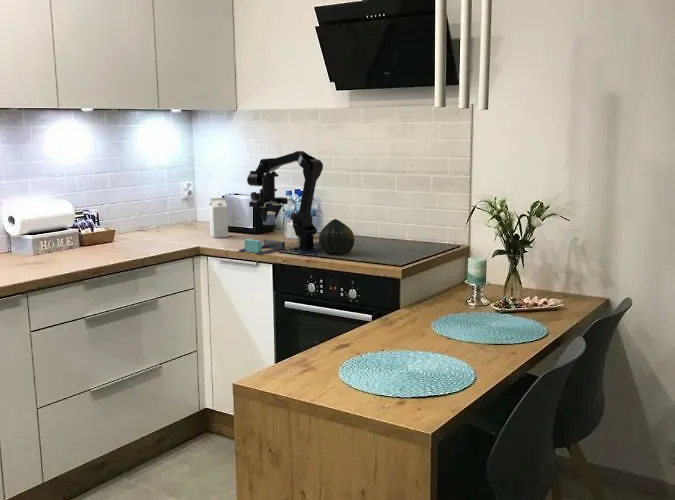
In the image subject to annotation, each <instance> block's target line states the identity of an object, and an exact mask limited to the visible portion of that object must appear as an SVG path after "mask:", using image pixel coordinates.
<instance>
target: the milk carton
mask: <svg viewBox="0 0 675 500" xmlns="http://www.w3.org/2000/svg"><path fill="white" fill-rule="evenodd" d="M209 201H210V202H209V205H208V214H209V215H208V216H209V236H210V237H212V238H214V239H217V238H218V239H219V238H228V237H229V228H228V227H229V225H228V222H229V221H228V219H229V218H228V205H227V202H226V198H225V197H214V198H212V197H211V198H210V200H209Z"/></svg>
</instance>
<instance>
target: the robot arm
mask: <svg viewBox="0 0 675 500" xmlns="http://www.w3.org/2000/svg"><path fill="white" fill-rule="evenodd" d="M295 162H297V164H298V165H299V167H300V168H302V174H303V177H304V184H303V188H302V194H301V199H300V206H299V209H298V212H296V213H297V214H294V215H293V221H292V223H293V228H294V230H295V233H296V236H299V239H298V247H296V249H297V250H301V251H310V250H317V247H315V246H314V245H315V244H314V235H317V232H318V229H317V227H315V225H314V223H313V217H312V212H311V211H312V206H313V200H314V195H315V191H316V185H317V184H316V183H317V181H318V179H319V178H320V176H321V175H322V172H323V169H324V164H323V162H322V161H321V160H320V159H317V158H315V157H314V156H312V155H310V154H308V153H307V152H306V151H303V150H296V151H294V152H291V153H288V154H285V155H280V156H277V157H271V158H261V159H260V160H259V164H258V166H257V168H256V169H255V170H249V174H248V175H247V178H246V182H247V184H248V186H251V187H253V186H254V187H261V188H260V190H259V192H257V191H253V192H251V193H250V199H251V200H250V201H249V205H248V206H249V207H250V208H255V209H257V211H258V212H259V213H260V216H261V219H262V223H263V222H266V216H267V212H268V206H266V205H269V206H270V207H271V210H272V212H275V213H276V214H275V221H276V220H277V217H278V216H279V213H280V211H281V209H282V207H284V205H287V204H288V203H289V201H288V200H289V199H288V198H287V197H282V196H281V197H280V196H278V197H276V192H278V189H277V188H276V185H275V184H276V179H275V178H276V177H279V176H280V175H279V174H278V173H277V172H276V170H278V169H280V167H283V166H284V165H285V166H286V165H288V164H289V165H290V164H292V163H295Z"/></svg>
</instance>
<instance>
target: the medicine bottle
mask: <svg viewBox="0 0 675 500" xmlns="http://www.w3.org/2000/svg"><path fill="white" fill-rule="evenodd" d="M297 213H298V212H293V213H290V222H287V223H286V238H287V239H295V240H299V236H296V233H295V230H294V228H293V223H292V221H293V215H294V214H297Z"/></svg>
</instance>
